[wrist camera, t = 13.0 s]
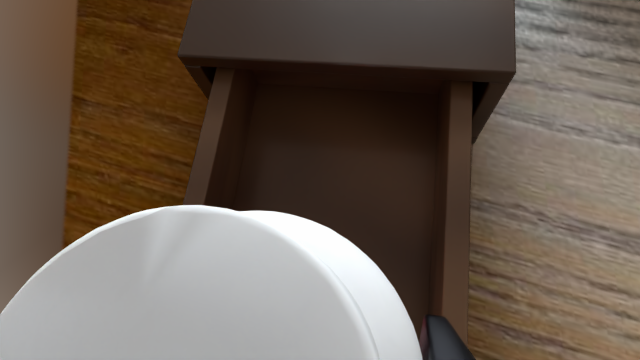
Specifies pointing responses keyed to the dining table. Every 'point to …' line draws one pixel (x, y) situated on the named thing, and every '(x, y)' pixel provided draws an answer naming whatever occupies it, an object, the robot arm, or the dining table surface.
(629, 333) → the dining table surface
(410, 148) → the drawer
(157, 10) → the dining table surface
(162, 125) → the dining table surface
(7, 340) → the pill bottle
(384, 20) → the cabinet
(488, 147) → the dining table surface
